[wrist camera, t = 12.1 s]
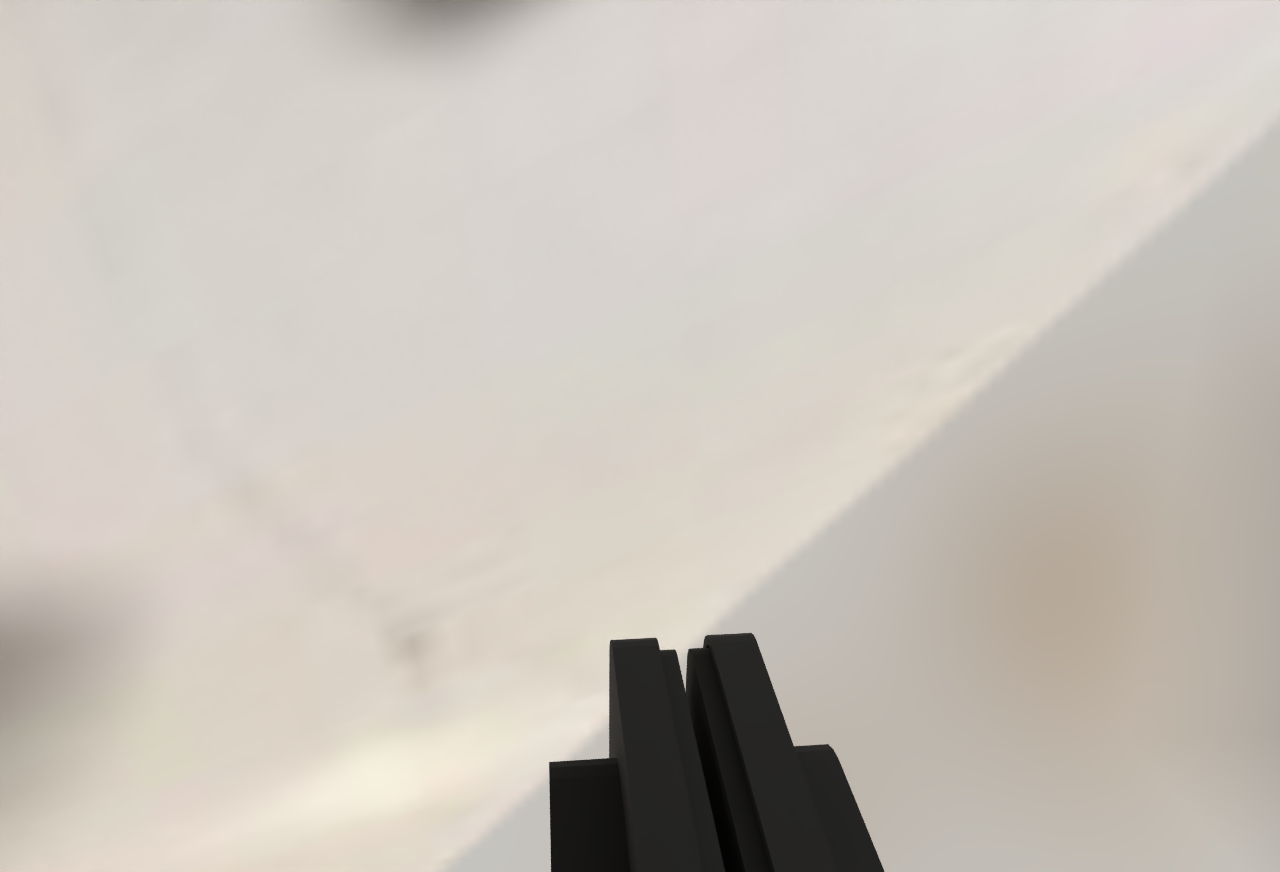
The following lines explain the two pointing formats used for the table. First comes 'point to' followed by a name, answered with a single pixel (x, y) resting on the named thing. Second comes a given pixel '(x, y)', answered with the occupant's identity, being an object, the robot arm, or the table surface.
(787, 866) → the robot arm
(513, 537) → the table surface
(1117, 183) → the table surface
